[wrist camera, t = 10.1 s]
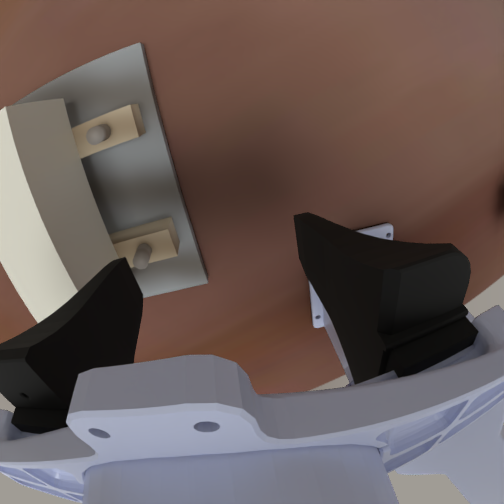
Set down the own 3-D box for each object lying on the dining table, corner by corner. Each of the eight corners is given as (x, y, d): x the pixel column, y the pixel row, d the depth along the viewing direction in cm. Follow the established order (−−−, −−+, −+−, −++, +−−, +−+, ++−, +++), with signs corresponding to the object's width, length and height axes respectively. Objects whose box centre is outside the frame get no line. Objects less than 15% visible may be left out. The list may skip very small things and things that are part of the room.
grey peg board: (207, 275, 24) (209, 312, 20) (67, 307, 23) (51, 341, 20) (143, 44, 14) (125, 31, 11) (-11, 124, 14) (-46, 136, 10)
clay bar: (134, 291, 20) (118, 355, 15) (89, 301, 20) (66, 361, 15) (63, 98, 13) (5, 106, 8) (16, 124, 13) (-44, 145, 8)
